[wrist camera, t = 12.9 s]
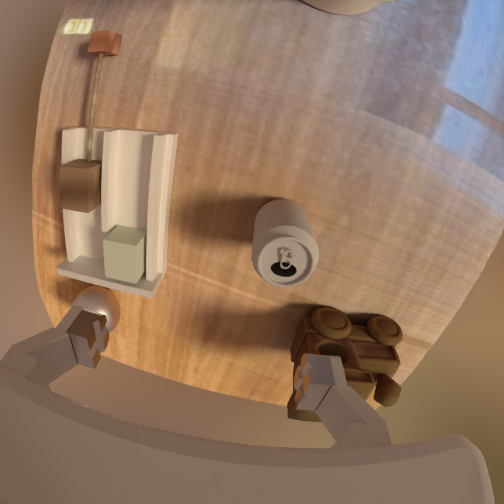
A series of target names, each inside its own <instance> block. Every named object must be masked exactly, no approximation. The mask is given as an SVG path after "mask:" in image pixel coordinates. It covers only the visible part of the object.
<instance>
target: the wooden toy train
mask: <svg viewBox="0 0 504 504" xmlns="http://www.w3.org/2000/svg"><path fill="white" fill-rule="evenodd" d="M401 340H402V330H401V328H400V326H399V325H398V324H397V323H396V322H395V321H394V320H392V319H391V318H388V317H386V316H380V315H378V316H373V317H372V318H370V319H369V320H368V323H367V326H359V325H352V324H351V322H350V320H349V318H348V317H347V316H346V315H345V314H344V313H343V312H341V311H339V310H337V309H335V308H331V307H322V308H318V309H317V310H315V311H314V312H313V313H312V315H311V318H307V317H303V320H302V322H301V325H300V327H299V330H298V332H297V334H296V337H295V339H294V341H293V344H292V346H291V348H290V349H291V362H294V370H293V393H292V395H291V397H290V400H289V402H288V404H287V408H288V418H291V419H296V420H302V421H314V422H322V421H321V420H320V418H319V417H318V415H317V414H316V413H315V411H309V410H297V409H296V407H295V395H296V393H297V391H296V390H295V388H294V376H295V372H296V369H297V367H298V366H299V365H301V358H302V356H303V354H304V353H306V354H317V355H327V356H339V357H340V358H341V361H342V365H343V370H344V374H345V378H346V382H347V386H351V387H352V388H353V389H354V390H355V391H356V392H357V393H358V394H359V395H360V396H361V397H362V398H363V399H364V400H365V401H366V399H367V398H368V397H369V395H370V393H371V392H372V390H373V388H374V387H375V386H376V389H375V394H374V400H375V401H376V402H378V403H380V404H381V405H383V406H386V407H389V406H392V405H394V404H395V403H396V402H397V401H398V398H399V395H400V392H401V387H400V385H399V384H397V383H396V382H395V381H394V380H392V379H391V378H392V376H393V375H394V374H395V372H396V371H397V369H398V367H399V365H400V360H399V356H398V354H397V351H396V349H395V348H394V347H395V346H396V344H398V343H399V342H400V341H401Z"/></svg>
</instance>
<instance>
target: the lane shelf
mask: <svg viewBox="0 0 504 504" xmlns="http://www.w3.org/2000/svg"><path fill="white" fill-rule="evenodd" d="M88 130H89V127H82V126H75V127H70V128H68V129H65V130H63V133H62V165H64V164H66V163H69V162H72V161H74V160H77V159H87V146H88ZM177 140H178V133H171V132H162V131H151V130H140V129H126V128H109V127H94V128H93V141H92V160H100V161H102V181H101V205H100V206H98V207H97V208H95V209H94V210H93V211H91V212H90V213H84V212H78V211H72V210H66V209H63V220H64V232H65V242H66V250H67V258H66V259H65V260H64V261H63V262H62V263H61V264H60V265H58V266H57V267H56V269H57V274H59V275H62V276H66V277H69V278H73V279H77V280H80V281H84V282H88V283H91V284H95V285H99V286H103V287H107V288H111V289H115V290H119V291H123V292H127V293H131V294H135V295H139V296H144V297H148V298H153V296H154V295H155V293H156V291H157V289H158V287H159V285H160V283H161V281H162V279H163V278H164V276H165V274H166V260H167V242H168V227H169V214H170V202H171V191H172V181H173V172H174V164H175V155H176V147H177ZM118 225H120V226H126V227H131V228H137V229H142V230H147V248H146V270H145V271H144V273H143V274H142V276H141V278H140V279H139V281H138V282H137V284H134V283H130V282H125V281H121V280H117V279H113V278H109V277H106V276H105V264H104V249H103V239H104V238H105V237H106V236H107V235H108V234H109V233H110V232H111V231H112V230H114V229H115V228H116V227H117V226H118Z"/></svg>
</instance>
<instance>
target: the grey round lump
mask: <svg viewBox="0 0 504 504" xmlns="http://www.w3.org/2000/svg"><path fill="white" fill-rule="evenodd" d="M75 305H76V306H79V307H82V308H86V309H89V310H92V311H95V312H98V313H101V314H104V315H106V318H107V323H106V325H105V326H106V327H107V328H108V330H109V333H110V332H111V331H113V330H114V329H115V327H116V326H117V324H118V322H119V319H120V305H119V302H118V300H117V298H116V297H115V295H114V294H113V293H112V292H111V291H110V290H108V289H106V288H104V287H102V286H89V287H87V288H85V289H83V290H82V291H81V292H80V293H79V294H78V295H77V296H76V298H75V300H74V301H73V303H72V306H75Z"/></svg>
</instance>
